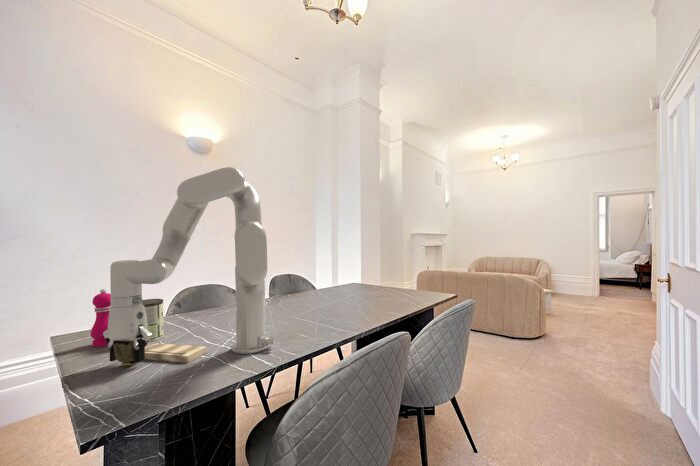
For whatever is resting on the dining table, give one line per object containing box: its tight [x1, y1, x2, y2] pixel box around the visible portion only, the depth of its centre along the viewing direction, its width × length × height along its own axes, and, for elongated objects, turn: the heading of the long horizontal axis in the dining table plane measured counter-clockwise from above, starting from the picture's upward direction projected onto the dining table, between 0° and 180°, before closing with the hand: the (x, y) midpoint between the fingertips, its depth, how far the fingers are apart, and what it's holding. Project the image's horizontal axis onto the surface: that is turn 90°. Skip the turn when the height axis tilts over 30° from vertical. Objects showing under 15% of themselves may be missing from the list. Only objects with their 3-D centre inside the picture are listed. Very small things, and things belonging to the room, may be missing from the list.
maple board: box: [144, 342, 208, 364], centre depth 97 cm, size 20×8×2 cm, turn 77°
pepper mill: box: [90, 288, 111, 348], centre depth 109 cm, size 7×7×20 cm
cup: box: [113, 337, 141, 368], centre depth 90 cm, size 8×7×8 cm
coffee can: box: [142, 298, 165, 343], centre depth 114 cm, size 10×10×14 cm
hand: (127, 360), depth 89 cm, fingers open, 8 cm apart
